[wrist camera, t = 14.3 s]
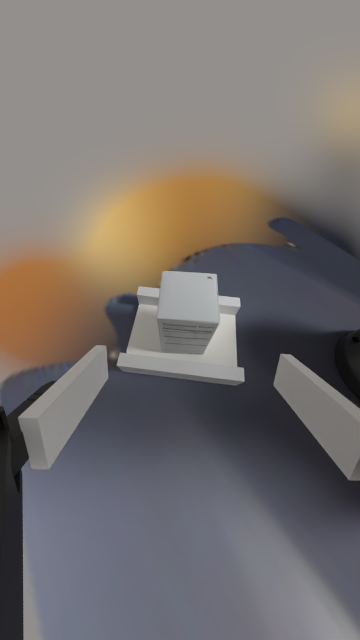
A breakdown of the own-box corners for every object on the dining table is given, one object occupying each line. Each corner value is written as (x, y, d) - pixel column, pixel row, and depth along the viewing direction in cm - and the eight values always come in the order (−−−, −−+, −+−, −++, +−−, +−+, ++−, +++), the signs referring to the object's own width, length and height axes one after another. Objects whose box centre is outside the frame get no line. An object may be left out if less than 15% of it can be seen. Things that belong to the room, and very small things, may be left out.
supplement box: (164, 316, 34) (161, 268, 23) (203, 319, 34) (218, 272, 23) (160, 353, 31) (154, 318, 19) (203, 356, 31) (222, 322, 19)
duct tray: (233, 309, 37) (239, 298, 33) (235, 385, 29) (244, 381, 26) (142, 298, 37) (139, 286, 33) (122, 371, 30) (116, 365, 26)
